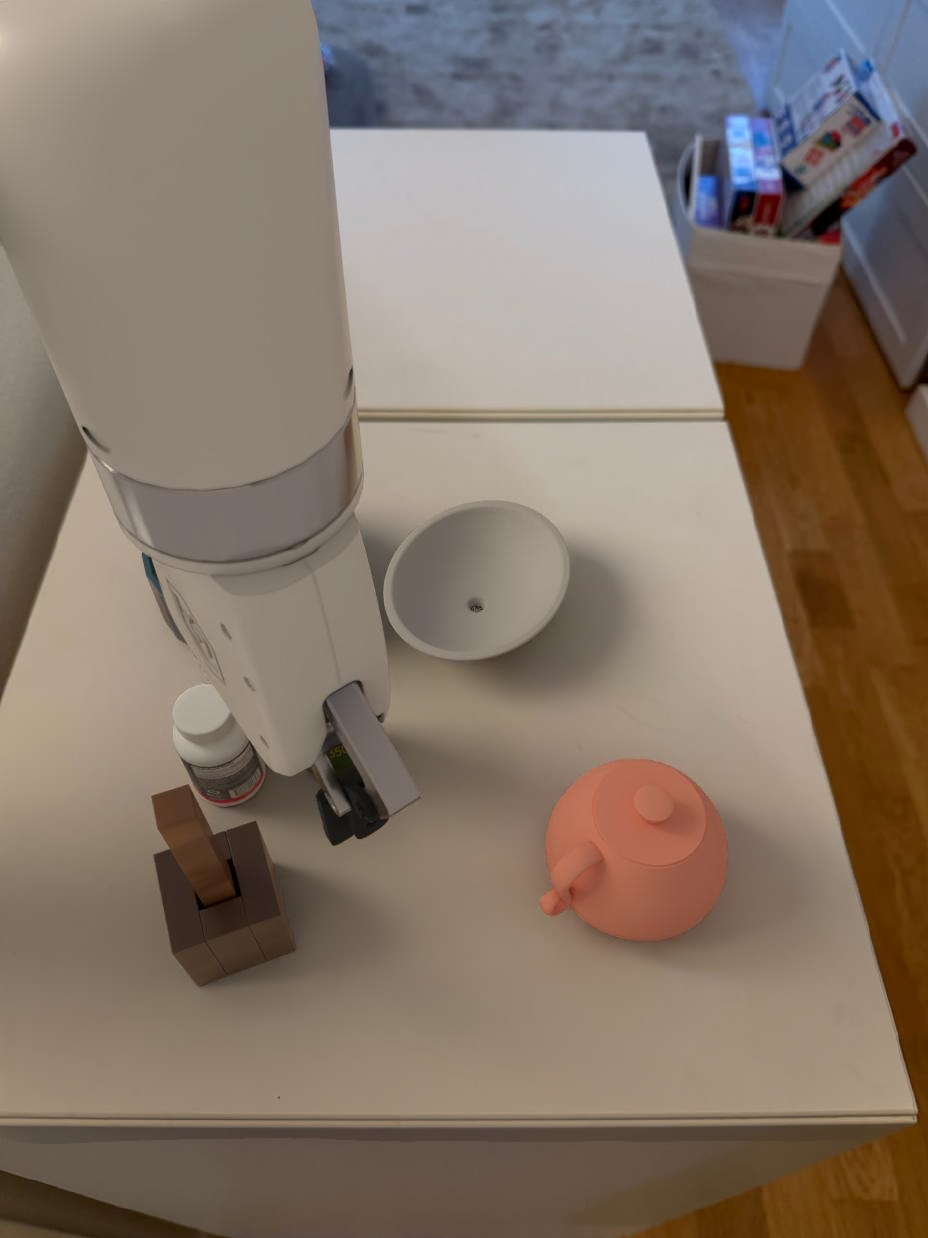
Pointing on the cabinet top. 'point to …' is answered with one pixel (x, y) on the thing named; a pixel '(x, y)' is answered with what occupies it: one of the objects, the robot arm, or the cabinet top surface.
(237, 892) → the brown wooden stick
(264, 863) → the stick stand
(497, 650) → the dish
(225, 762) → the pill bottle
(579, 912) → the pink teapot
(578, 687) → the cabinet top surface
